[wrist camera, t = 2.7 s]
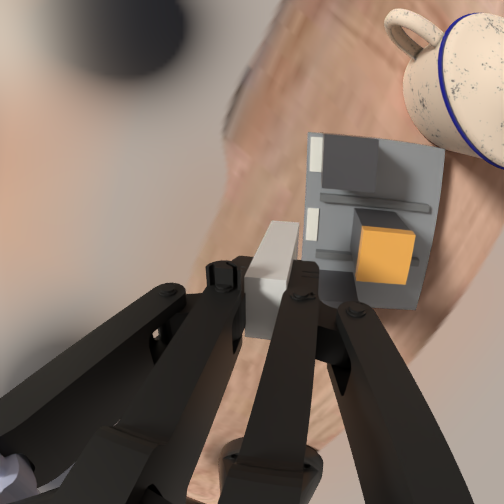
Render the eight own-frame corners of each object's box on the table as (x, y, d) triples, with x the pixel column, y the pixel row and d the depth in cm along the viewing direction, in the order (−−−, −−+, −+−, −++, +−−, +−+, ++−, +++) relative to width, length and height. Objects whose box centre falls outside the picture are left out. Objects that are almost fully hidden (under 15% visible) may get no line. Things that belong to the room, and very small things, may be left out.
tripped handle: (389, 251, 22) (405, 284, 17) (349, 248, 22) (356, 281, 17) (395, 211, 20) (415, 235, 16) (353, 206, 21) (363, 230, 16)
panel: (410, 297, 25) (429, 343, 19) (299, 289, 27) (293, 335, 21) (435, 147, 20) (472, 155, 14) (308, 132, 22) (305, 132, 16)
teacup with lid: (510, 97, 16) (603, 98, 6) (463, 177, 20) (550, 221, 10) (399, 0, 16) (447, -72, 5) (343, 81, 20) (368, 38, 9)
